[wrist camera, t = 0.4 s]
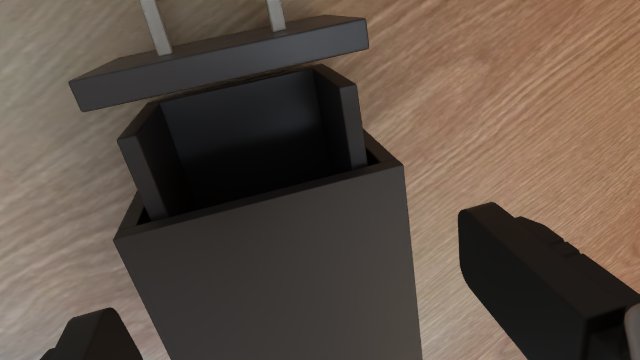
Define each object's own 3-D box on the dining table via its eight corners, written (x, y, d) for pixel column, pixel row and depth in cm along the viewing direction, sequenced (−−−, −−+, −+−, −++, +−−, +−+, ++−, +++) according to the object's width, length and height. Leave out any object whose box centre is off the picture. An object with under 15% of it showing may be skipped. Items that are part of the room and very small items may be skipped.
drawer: (81, -34, 19) (5, -54, 13) (311, -76, 20) (350, -114, 14) (197, 262, 27) (186, 346, 20) (359, 218, 28) (398, 283, 21)
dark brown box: (151, 161, 24) (112, 240, 16) (348, 114, 26) (403, 164, 18) (219, 334, 31) (216, 453, 22) (375, 288, 32) (425, 385, 24)
